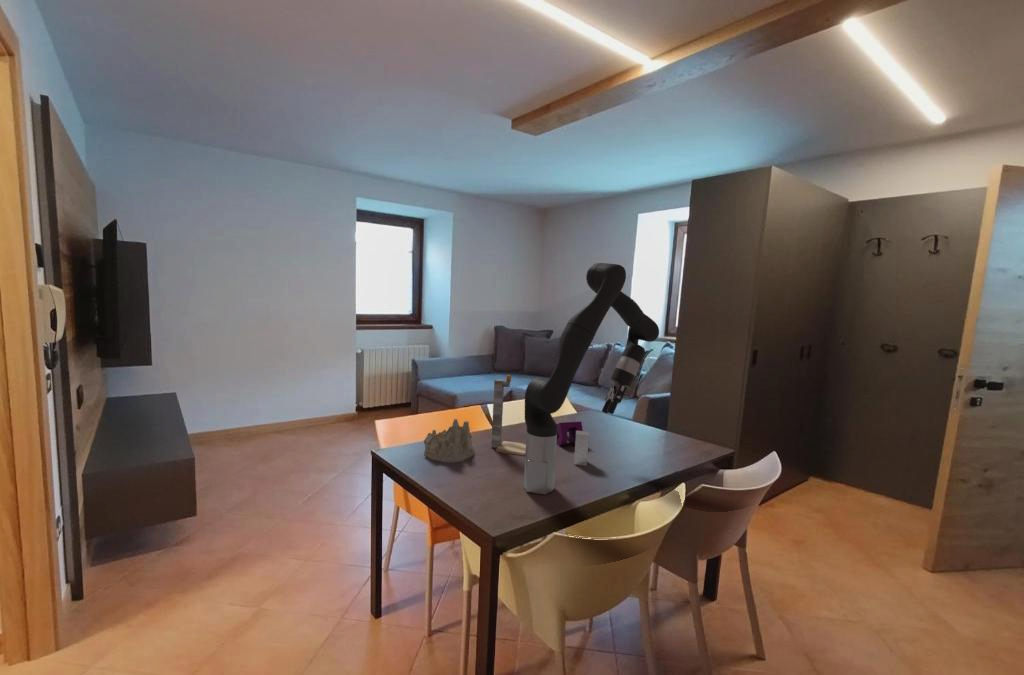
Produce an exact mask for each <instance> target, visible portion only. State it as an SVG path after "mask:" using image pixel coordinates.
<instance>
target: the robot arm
mask: <svg viewBox="0 0 1024 675" xmlns="http://www.w3.org/2000/svg"><path fill="white" fill-rule="evenodd" d="M585 276H586V277H585V278H586V284H587V285H588V287H589V288H590V289H591V291H593V292H594V293H595V296H594V297H593V298H592V300H591V301H590V302H589V303H588V304H586V305H584V307H582V308H581V309H580V310H578V311H577V312H576V313H575V314H573V315H572V316H571V317H570V319H569V320H568V322H567V323H566V325H565V327H564V329H563V330H562V332H561V335H560V337H559V340H558V349H557V351H558V352H557V362H556V365H555V368H554V369H553V371H552V373H551V376H550V377H549V378H548V379H545V378H542V377H541V378H539V377H538V378H534V379H532V380H531V381H530V382H529V383H528V385H527V386H526V390H525V393H524V422H525V425H526V434H525V435H526V438H525V439H526V441H525V444H526V453H525V455H524V457H525V458H524V473H523V474H524V476H523V477H524V478H523V479H524V480H523V488H524V490H525V492H526V493H532V494H533V493H534V494H540V495H548V494H549V493H551V492H553V491H554V489H555V476H556V474H555V473H556V458H557V424H558V423H557V421H555V420H554V418H553V416H552V414H554V413H557V411H559V410H560V409H561V408H562V407H563V404H564V402H565V400H566V398H567V396H568V393H569V391H570V388H571V386H572V383H573V380H574V379H575V376H576V374H577V371H578V369H579V368H580V365H581V363H582V362H583V359H584V357H585V354H586V353H587V351H589V350H588V349H589V348H590V346H591V344H592V342H593V341H594V338H595V336H596V334H597V331H598V330H599V327H600V326H601V324H602V322H603V320H604V319H605V317H606V315H607V313H608V311H609V310H610V308H611V307H612V308H613V310H614V311H615V312H616V313H617V315H619V317H620V319H622V320H623V322H624V323H625V325H627V326H628V327H629V328H628V331H627V337H626V338H627V340H626V344H625V348H624V350H623V352H622V354H621V356H620V358H619V360H618V362H617V364H616V366H615V367H614V370H613V372H612V375H611V376H610V380H611V381H613V382H614V383H613V385H610V388H609V391H608V392H607V395H606V397H605V398H604V400H605V403H604V404H603V407H602V409H601V412H602V413H604V414H611V415H614V413H615V411H616V408H617V407H618V405H619V404H620V403H621V402H622V401H623V400H622V399H623V398H624V395H625V394H626V390H627V388H629V389H630V388H631V387H632V385H633V383H634V380H635V378H636V377H637V374H638V372H639V370H640V369H639V368H640V365H641V362H642V360H643V358H644V357H645V354H646V349H645V348H644V347H643V346H642V345H640V344H639V341H644V342H648V343H652V342H654V341H656V340H657V339H658V338H659V335H660V328H659V326H658V324H657V323H656V321H655V320H654V319H652V318H651V317H650V316H648V315H647V314H646V313H644V311H643V310H642V309H641V307H640V306H639V305H638V304H637V302H636V301H635V300H634V299H632V298H631V297H630V296H629V295H627V294H625V293H624V292H623V291H622V290H623V287H624V285H625V283H626V279H627V272H626V269H625V267H624V266H622V265H620V264H617V263H607V262H605V263H604V262H598V263H597V262H596V263H593V264H591V266H589V268H588V270H587V272H586V275H585Z"/></svg>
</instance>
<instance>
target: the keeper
mask: <svg viewBox="0 0 1024 675" xmlns="http://www.w3.org/2000/svg"><path fill="white" fill-rule="evenodd" d="M511 382H512V375H511V374H507V375H506V380H505V379H498V378H497V379H495V380H494V382H493V383H494V384H493V401H492V403H493V404H492V421H491V422H492V425H491V427H492V428H491V444H490V446H491V448H494V449H495V452H497V453H503V454H511V455H517V456H523V457H525V453H526V443H523V442H515V441H507V440H503V441H502V432H503V431H502V430H503V429H502V428H503V414H504V413H503V410H504V391H505V390H504V389H505V388H509V387H510V386H511Z"/></svg>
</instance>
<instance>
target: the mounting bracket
mask: <svg viewBox="0 0 1024 675" xmlns="http://www.w3.org/2000/svg"><path fill="white" fill-rule="evenodd" d="M556 424H557V444H556V446H566V445H567V444H568V443H567V442H568V437H569V441H570V443H571V442H572V443H571V444H572V445H575V440H576V431H584V429H583V425H582V424H583V423H582V421H570V422H568V421H566V422H558V423H556ZM568 435H569V436H568Z"/></svg>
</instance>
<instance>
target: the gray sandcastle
mask: <svg viewBox="0 0 1024 675" xmlns="http://www.w3.org/2000/svg"><path fill="white" fill-rule="evenodd" d="M469 423H470V422H469V421H468V420H467V421H466V420H465V421H463V425H462V426H461V425H460V424H459V421H458V418H454V419H453V421H452V425H451V426H449V427H448V429H443V430H441V431H440V432H438V433H437V430H436V429H432V432H428V434H427V435H426V436H425V437H424V439H423V444H424V451H423V452H424V453H423V455H424V456H425V457H426V458H429V460H432V461H437V462H441V463H458V462H463V461H466V460H467V459H469V458H471V457H472V456H475V454H476V452H475V448H474V446H473V441H472V438H473V436H472V435H471V432H470V431H471V429H470V426H469V425H470V424H469Z"/></svg>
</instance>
